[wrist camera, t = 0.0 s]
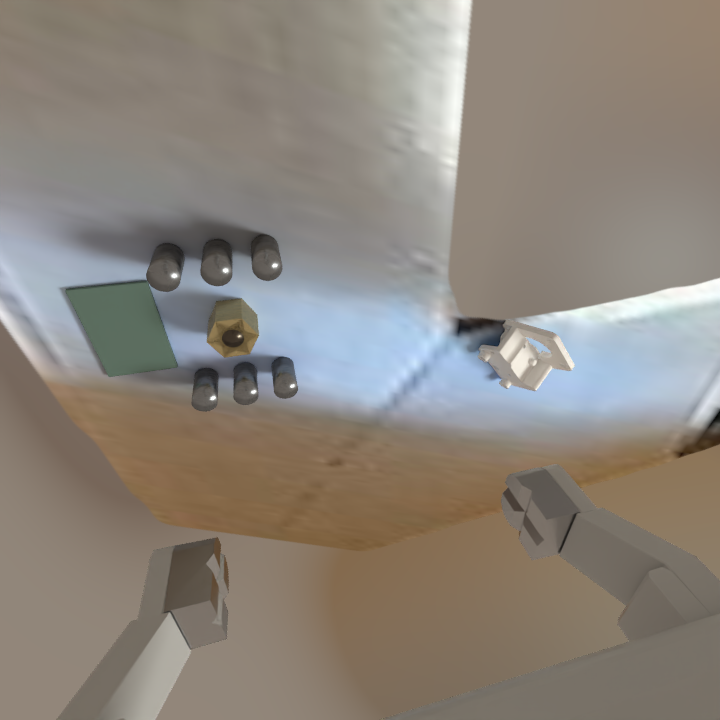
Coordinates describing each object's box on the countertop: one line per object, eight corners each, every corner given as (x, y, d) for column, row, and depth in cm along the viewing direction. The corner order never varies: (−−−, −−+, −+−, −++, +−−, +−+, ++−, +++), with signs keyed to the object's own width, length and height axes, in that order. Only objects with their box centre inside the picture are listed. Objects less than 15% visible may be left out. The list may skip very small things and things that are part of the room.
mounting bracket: (521, 357, 70) (582, 379, 61) (500, 386, 69) (558, 413, 60) (493, 315, 62) (557, 333, 54) (468, 347, 62) (529, 371, 53)
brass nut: (203, 302, 48) (201, 323, 45) (253, 296, 49) (255, 317, 46) (213, 337, 51) (211, 359, 48) (260, 331, 52) (262, 352, 49)
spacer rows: (150, 244, 43) (141, 265, 39) (276, 233, 45) (280, 252, 41) (197, 386, 55) (194, 413, 51) (294, 372, 58) (298, 396, 54)
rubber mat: (66, 288, 43) (65, 290, 43) (147, 280, 45) (146, 282, 45) (109, 374, 51) (108, 377, 51) (177, 365, 52) (177, 367, 52)
